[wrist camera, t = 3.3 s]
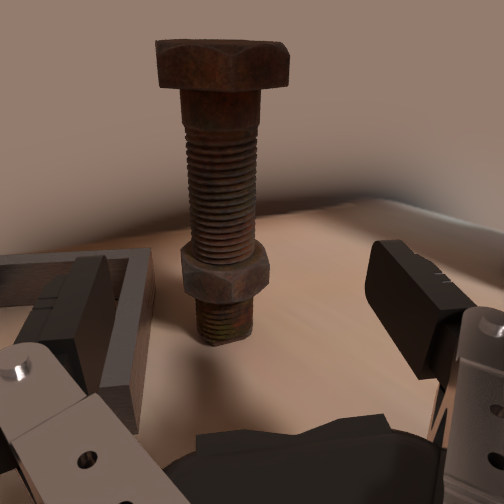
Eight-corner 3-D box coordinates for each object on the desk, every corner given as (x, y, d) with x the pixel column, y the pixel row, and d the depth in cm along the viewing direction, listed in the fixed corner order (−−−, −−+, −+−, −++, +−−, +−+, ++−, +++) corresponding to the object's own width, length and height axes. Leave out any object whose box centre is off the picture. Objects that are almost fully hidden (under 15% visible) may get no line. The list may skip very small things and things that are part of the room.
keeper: (155, 286, 27) (150, 247, 26) (138, 433, 18) (128, 384, 16) (-27, 297, 26) (-43, 257, 24) (-157, 465, 16) (-196, 415, 15)
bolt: (178, 307, 25) (154, 37, 18) (256, 298, 26) (263, 39, 19) (184, 375, 20) (155, 43, 13) (280, 361, 21) (303, 45, 14)
